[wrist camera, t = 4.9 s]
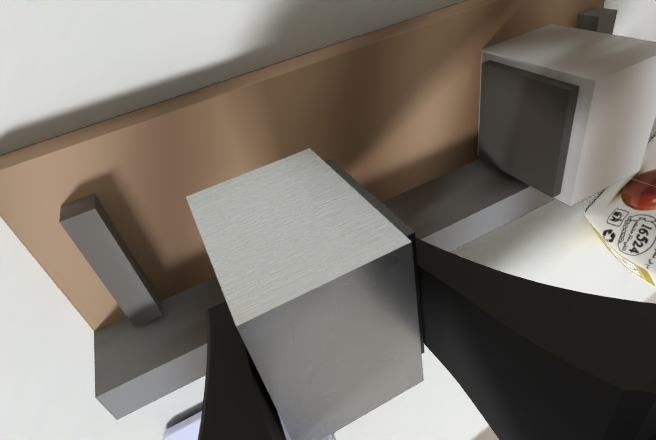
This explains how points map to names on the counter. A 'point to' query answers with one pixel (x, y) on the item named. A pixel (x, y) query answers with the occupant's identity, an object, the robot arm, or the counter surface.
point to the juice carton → (630, 218)
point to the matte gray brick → (316, 288)
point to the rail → (329, 143)
